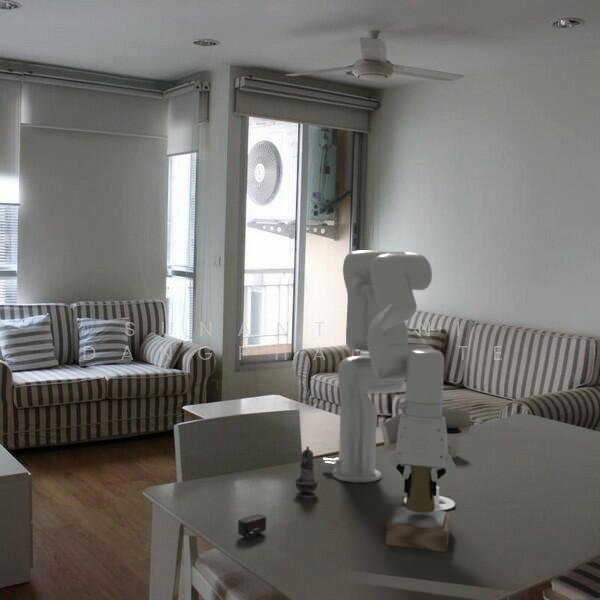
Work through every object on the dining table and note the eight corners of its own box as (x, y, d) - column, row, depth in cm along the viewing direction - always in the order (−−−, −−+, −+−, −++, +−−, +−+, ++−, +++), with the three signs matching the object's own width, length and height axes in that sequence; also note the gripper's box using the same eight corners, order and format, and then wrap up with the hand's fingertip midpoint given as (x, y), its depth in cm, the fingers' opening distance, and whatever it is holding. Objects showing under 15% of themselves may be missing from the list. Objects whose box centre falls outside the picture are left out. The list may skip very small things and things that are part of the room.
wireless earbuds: (233, 535, 163) (234, 520, 163) (258, 528, 168) (258, 513, 168) (248, 541, 160) (249, 526, 160) (272, 533, 165) (273, 519, 165)
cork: (416, 514, 160) (418, 460, 159) (399, 505, 165) (401, 453, 164) (440, 510, 162) (443, 457, 162) (423, 501, 168) (425, 450, 167)
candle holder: (418, 515, 180) (419, 496, 180) (394, 499, 191) (395, 482, 191) (464, 510, 184) (465, 492, 184) (438, 495, 195) (439, 478, 195)
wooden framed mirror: (385, 544, 159) (386, 522, 159) (393, 525, 171) (394, 504, 171) (446, 551, 157) (447, 528, 156) (449, 531, 168) (450, 510, 168)
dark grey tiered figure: (322, 494, 193) (323, 445, 192) (312, 500, 187) (313, 450, 187) (300, 490, 195) (301, 442, 194) (289, 496, 190) (291, 447, 189)
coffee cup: (464, 459, 230) (465, 425, 230) (455, 464, 224) (456, 429, 224) (441, 455, 234) (442, 422, 234) (432, 460, 228) (433, 426, 228)
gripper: (380, 410, 161) (377, 498, 162) (464, 416, 157) (460, 507, 158) (385, 403, 168) (382, 488, 169) (465, 409, 164) (461, 496, 165)
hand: (420, 496), depth 164 cm, fingers closed on cork, 3 cm apart
